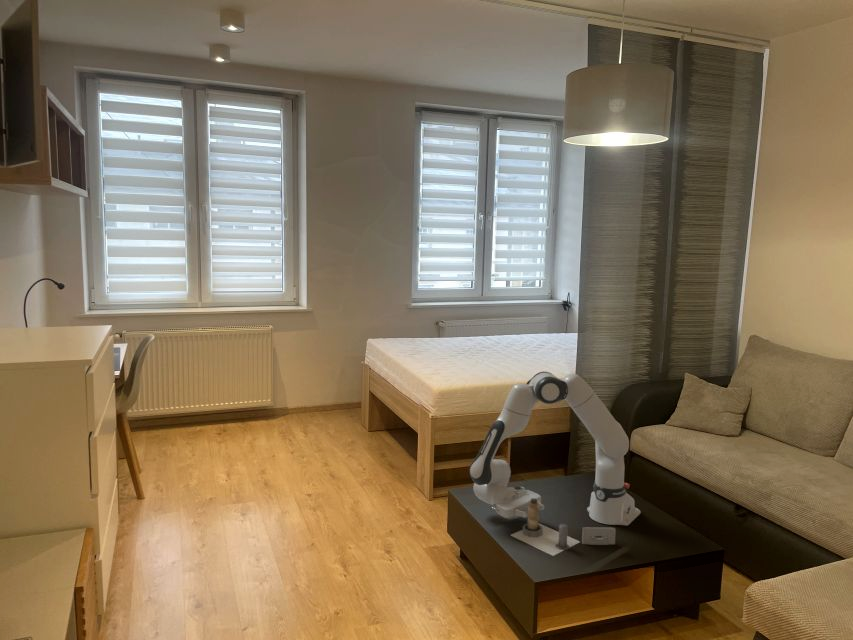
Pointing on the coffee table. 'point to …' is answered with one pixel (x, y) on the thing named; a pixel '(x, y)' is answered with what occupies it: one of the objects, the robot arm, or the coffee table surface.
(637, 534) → the coffee table surface
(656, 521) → the coffee table surface
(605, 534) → the cassette
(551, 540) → the plate
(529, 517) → the wooden leg
